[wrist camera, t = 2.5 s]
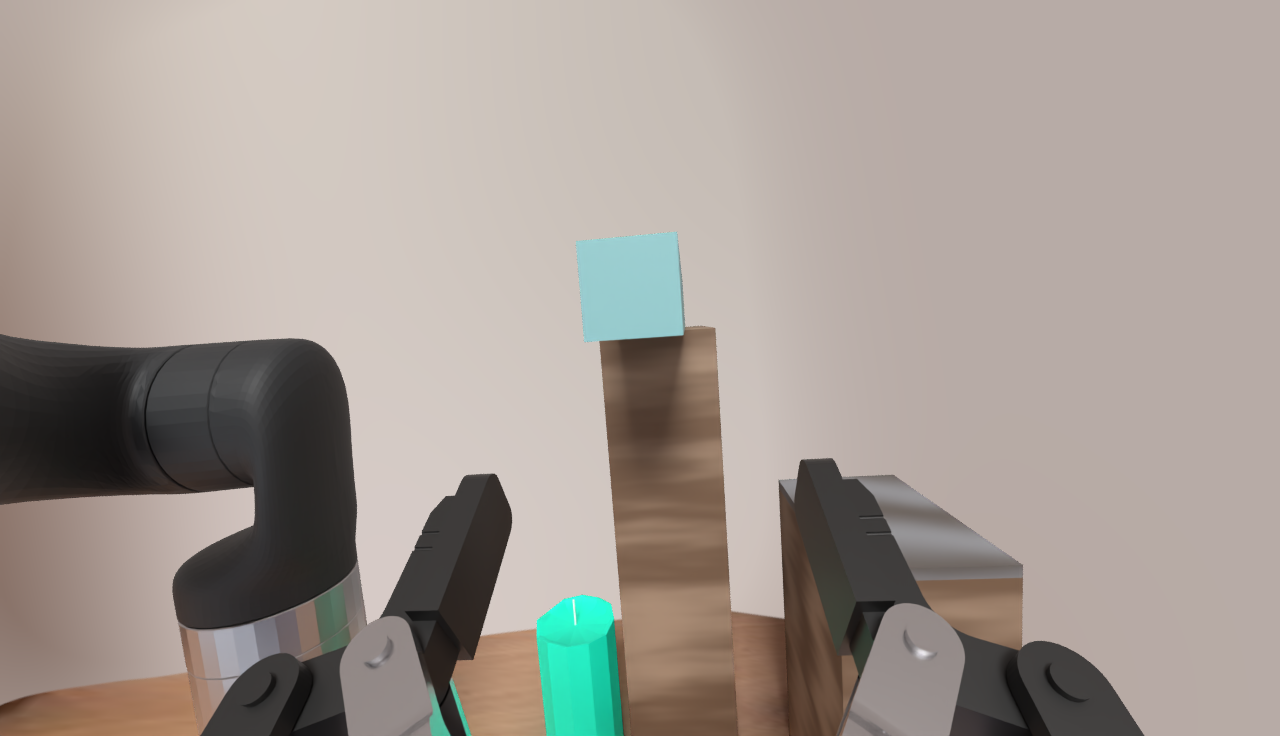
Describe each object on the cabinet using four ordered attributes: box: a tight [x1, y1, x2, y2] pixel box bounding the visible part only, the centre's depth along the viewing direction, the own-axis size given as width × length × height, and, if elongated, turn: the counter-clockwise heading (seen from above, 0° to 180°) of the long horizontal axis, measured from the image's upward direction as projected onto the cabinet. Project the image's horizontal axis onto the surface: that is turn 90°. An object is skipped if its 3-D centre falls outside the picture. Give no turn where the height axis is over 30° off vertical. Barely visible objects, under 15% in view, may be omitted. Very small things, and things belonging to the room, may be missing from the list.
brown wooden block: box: [779, 475, 1023, 736], centre depth 28 cm, size 12×8×21 cm, turn 176°
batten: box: [576, 232, 685, 342], centre depth 29 cm, size 22×4×4 cm, turn 174°
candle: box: [537, 595, 624, 736], centre depth 35 cm, size 6×6×12 cm
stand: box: [600, 326, 738, 736], centre depth 35 cm, size 12×7×32 cm, turn 176°
